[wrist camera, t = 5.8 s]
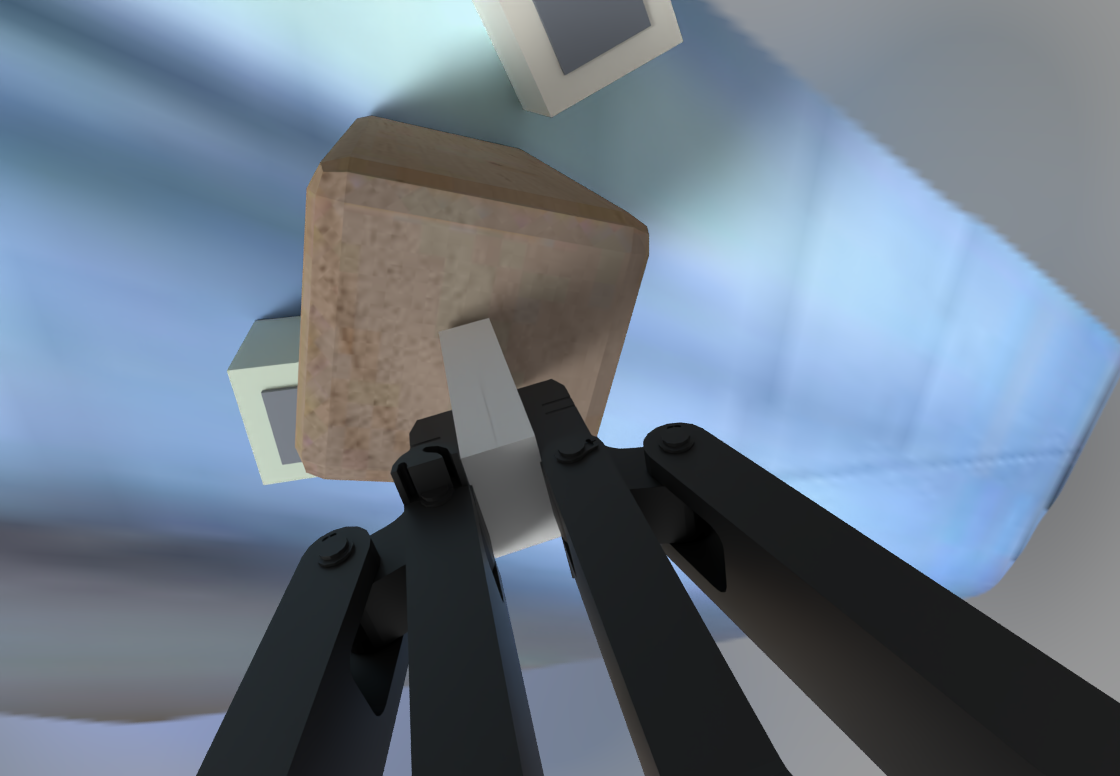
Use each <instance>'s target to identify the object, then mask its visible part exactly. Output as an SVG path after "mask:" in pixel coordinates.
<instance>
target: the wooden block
mask: <svg viewBox="0 0 1120 776" xmlns="http://www.w3.org/2000/svg"><path fill="white" fill-rule="evenodd" d="M648 257H649V233H648V229H647V226H646V225H644V224H643V223H642V222H640V221H639V220H638V219H636V218H635V217H634V216H632V215H631V214H630V213H628V212H626V211H625V210H623V209H621V208H620V207H618V206H616V205H614V204H613V203H611V202H609V201H608V200H606V199H604V198H603V197H601V196H599V195H598V194H596V193H594V192H592V191H591V190H589V189H587V188H586V187H584V186H582V185H581V184H579V183H577V182H575V181H574V180H572V179H570V178H569V177H567V176H565V175H564V174H562V173H560V172H559V171H557V170H555V169H553V168H552V167H550V166H548V165H547V164H545V163H543V162H542V161H540V160H538V159H536V158H535V157H533V156H531V155H530V154H528V153H526V152H525V151H523V150H521V149H518V148H514V147H509V146H505V145H500V144H496V143H491V142H487V141H483V140H478V139H474V138H469V137H465V136H460V135H456V134H451V133H447V132H442V131H438V130H434V129H429V128H425V127H420V126H416V125H411V124H407V123H402V122H398V121H394V120H389V119H385V118H380V117H376V116H367V117H362V118H357V119H356V120H355V122H354V123H353V124H352V125H351V126H350V128H349V129H348V130H347V131H346V132H345V134H344V135H343V136H342V137H341V138H340V140H339V141H338V142H337V143H336V144H335V145H334V147H333V148H332V149H331V150H330V151H329V153H328V154H327V155H326V156H325V157H324V159H323V160H322V161H321V162H320V164H319V166H318V168H317V170H316V171H315V173H314V175H313V177H312V179H311V181H310V183H309V185H308V187H307V193H306V214H305V236H304V258H303V279H302V301H301V322H300V344H299V366H298V387H297V409H296V431H295V448H296V450H297V452H298V454H299V456H300V459H301V461H302V463H303V465H304V468H305V471H306V473H309V474H311V475H314V476H317V477H320V478H323V479H332V480H356V481H380V482H394V481H393V478H392V476H391V474H390V472H391V469H392V466H393V464H394V463H395V462H396V461H397V460H398V458H399V457H400V456H402V455H403V454H405V453H406V452H408V451H409V450H410V441H409V433H410V431H411V429H412V428H413V426H414V424H415V423H416V421H417V420H419V419H423V418H426V417H429V416H433V415H436V414H439V413H443V412H446V411H450V410H452V406H451V401H450V395H449V389H448V383H447V378H446V372H445V366H444V360H443V355H442V349H441V343H440V337H439V332H440V331H444V330H447V329H451V328H454V327H458V326H462V325H465V324H469V323H472V322H476V321H479V320H483V319H487V318H489V319H490V322H491V324H492V327H493V330H494V332H495V335H496V337H497V340H498V342H499V345H500V348H501V350H502V353H503V355H504V358H505V360H506V363H507V365H508V368H509V371H510V373H511V376H512V378H513V381H514V383H515V386H516V389H519V388H522V387H525V386H529V385H532V384H536V383H539V382H542V381H546V380H549V379H553V380H555V381H557V382H559V383H561V384H563V385H564V386H565V387H566V389H567V391H568V393H569V395H570V397H571V398H572V400H573V402H574V404H575V407H577V409H578V411H579V413H580V415H581V417H582V418H583V420H584V422H585V424H586V426H587V427H588V429H589V431H590V433H591V435H593V436H596V437H597V434H598V431H599V427H600V424H601V420H602V417H603V413H604V410H605V407H606V403H607V400H608V396H609V393H610V389H611V386H612V382H613V379H614V375H615V372H616V368H617V365H618V361H619V358H620V354H621V351H622V347H623V344H624V340H625V337H626V333H627V330H628V326H629V323H630V319H631V316H632V313H633V309H634V306H635V302H636V299H637V295H638V292H639V288H640V285H641V281H642V278H643V274H644V271H645V267H646V264H647V260H648Z"/></svg>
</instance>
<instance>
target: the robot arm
mask: <svg viewBox="0 0 1120 776" xmlns="http://www.w3.org/2000/svg"><path fill="white" fill-rule="evenodd" d="M439 337H440V343H441V349H442V355H443V360H444V366H445V372H446V378H447V383H448V389H449V395H450V401H451V406H452V410H450V411H446V412H443V413H439V414H436V415H433V416H429V417H426V418H423V419H419V420H417V421H416V423H415V424H414V426H413V428H412V429H411V431H410V433H409V441H410V450H409V451H408V452H406V453H405V454H403V455H402V456H400V457H399V458H398V460H397V461H396V462H395V463H394V464H393V466H392V469H391V472H390V474H391V476H392V478H393V481H394V483H395V485H396V488H397V490H398V492H399V495H400V497H401V499H402V502H403V504H404V512H403V514H402V515H401V516H400V517H398V518H397V519H396V520H395V521H394V522H392V523H391V524H389V525H388V526H386V527H384V528H383V529H381V530H379V531H377V532H375V533H374V534H372V535H369V534H368V532H367V530H365V529H363V528H360V527H343V528H340V529H336V530H333V531H331V532H329V533H327V534H326V535H324V536H322V537H320V538H319V539H318V540H317V541H315V542H314V543H313V544H312V545H311V546H310V547H309V548H308V549H307V551H306V552H305V554H304V555H303V556H302V558H301V560H300V562H299V564H298V566H297V568H296V571H295V573H294V575H293V577H292V579H291V581H290V583H289V585H288V587H287V589H286V591H285V593H284V595H283V597H282V599H281V601H280V604H279V606H278V608H277V610H276V612H275V614H274V616H273V618H272V620H271V622H270V624H269V626H268V628H267V630H266V632H265V635H264V637H263V639H262V641H261V643H260V645H259V647H258V649H257V651H256V653H255V655H254V657H253V659H252V661H251V663H250V666H249V668H248V670H247V672H246V674H245V676H244V678H243V680H242V682H241V684H240V686H239V688H238V690H237V692H236V694H235V696H234V699H233V701H232V703H231V705H230V707H229V709H228V711H227V713H226V715H225V717H224V719H223V721H222V723H221V725H220V727H219V730H218V732H217V734H216V736H215V738H214V740H213V742H212V744H211V746H210V748H209V750H208V752H207V754H206V756H205V758H204V760H203V763H202V765H201V767H200V769H199V771H198V773H197V775H196V776H383V772H384V767H385V763H386V758H387V754H388V750H389V746H390V741H391V737H392V732H393V728H394V724H395V720H396V715H397V711H398V707H399V702H400V698H401V694H402V690H403V685H404V681H405V677H406V672H407V668H408V664H409V692H410V725H411V726H410V727H411V760H412V761H411V762H412V776H544V774H543V769H542V764H541V760H540V756H539V751H538V746H537V742H536V737H535V732H534V728H533V723H532V718H531V714H530V709H529V705H528V700H527V695H526V691H525V686H524V681H523V677H522V672H521V668H520V663H519V658H518V654H517V649H516V645H515V640H514V635H513V631H512V626H511V622H510V617H509V612H508V608H507V603H506V598H505V594H504V589H503V585H502V580H501V575H500V573H499V570H498V567H497V564H496V561H495V558H497V557H500V556H503V555H506V554H509V553H513V552H516V551H519V550H522V549H525V548H528V547H531V546H534V545H537V544H540V543H543V542H546V541H549V540H552V539H555V538H558V537H561V536H562V540H563V544H564V548H565V551H566V555H567V559H568V563H569V567H570V570H571V574H572V578H575V580H576V583H577V586H578V589H579V591H580V594H581V597H582V600H583V603H584V605H585V608H586V611H587V614H588V617H589V620H590V622H591V625H592V628H593V631H594V634H595V636H596V639H597V642H598V645H599V648H600V651H601V653H602V656H603V659H604V662H605V665H606V667H607V670H608V673H609V676H610V679H611V681H612V684H613V687H614V690H615V692H616V695H617V698H618V701H619V704H620V707H621V710H622V712H623V715H624V718H625V721H626V724H627V727H628V729H629V732H630V735H631V738H632V741H633V743H634V746H635V749H636V752H637V755H638V758H639V760H640V763H641V766H642V769H643V772H644V774H645V776H792V774H791V773H790V772H789V771H788V770H787V768H786V767H785V765H784V764H783V762H782V760H781V759H780V757H779V755H778V753H777V752H776V750H775V748H774V746H773V744H772V743H771V741H770V739H769V738H768V735H767V734H766V732H765V730H764V729H763V727H762V725H761V723H760V721H759V720H758V718H757V716H756V714H755V713H754V711H753V709H752V707H751V705H750V703H749V702H748V700H747V698H746V696H745V695H744V693H743V691H742V689H741V687H740V686H739V684H738V682H737V680H736V679H735V677H734V675H733V673H732V671H731V670H730V668H729V666H728V664H727V663H726V661H725V659H724V657H723V655H722V654H721V652H720V650H719V648H718V647H717V645H716V643H715V641H714V639H713V638H712V636H711V634H710V632H709V630H708V629H707V627H706V625H705V623H704V622H703V620H702V618H701V616H700V614H699V613H698V611H697V609H696V607H695V606H694V604H693V602H692V600H691V598H690V597H689V595H688V593H687V591H686V590H685V588H684V586H683V584H682V582H681V581H680V579H679V577H678V575H677V574H676V572H675V570H674V568H673V566H672V565H671V563H670V561H669V559H668V557H669V558H670V559H671V560H672V561H673V562H674V563H675V564H676V565H677V566H678V567H679V568H680V569H681V570H682V571H683V572H684V573H685V574H686V575H687V576H688V577H689V578H690V579H691V580H692V581H693V582H694V583H695V584H696V585H697V586H698V587H699V588H700V589H701V590H702V591H703V592H704V593H705V594H706V595H707V596H708V597H709V598H710V599H711V600H712V601H713V602H714V603H715V604H716V605H717V606H718V607H719V608H720V609H721V610H722V611H723V612H724V613H725V614H726V615H727V616H728V617H729V618H730V619H731V620H732V621H733V622H734V623H735V624H736V625H737V626H738V627H739V628H740V629H741V630H742V631H743V632H744V633H745V634H746V635H747V636H748V637H749V638H750V639H751V640H752V641H753V642H754V643H755V644H756V645H757V646H758V647H759V648H760V649H761V650H762V651H763V652H764V653H765V654H766V655H767V656H768V657H769V658H770V659H771V660H772V661H773V662H774V663H775V664H776V665H777V666H778V667H779V668H780V669H781V670H782V671H783V672H784V673H785V674H786V675H787V676H788V677H789V678H790V679H791V680H792V681H793V682H794V683H795V684H796V685H797V686H798V687H799V688H800V689H801V690H802V691H803V692H804V693H805V694H806V695H807V696H808V697H809V698H810V699H811V700H812V701H813V702H814V703H815V704H816V705H817V706H818V707H819V708H820V709H821V710H822V711H823V712H824V713H825V714H826V715H827V716H828V717H829V718H830V719H831V720H832V721H833V722H834V723H835V724H836V725H837V726H838V727H839V728H840V729H841V730H842V731H843V732H844V733H845V734H846V735H847V736H848V737H849V738H850V739H851V740H852V741H853V742H854V743H855V744H856V745H857V746H858V747H859V748H860V749H861V750H862V751H863V752H864V753H865V754H866V755H867V756H868V757H869V758H870V759H871V760H872V761H873V762H874V763H875V764H876V765H877V766H878V767H879V768H880V769H881V770H882V771H883V772H884V773H885V774H886V775H887V776H1120V703H1119V702H1117V701H1116V700H1114V699H1113V698H1111V697H1110V696H1108V695H1107V694H1105V693H1104V692H1102V691H1101V690H1099V689H1097V688H1096V687H1094V686H1093V685H1091V684H1090V683H1088V682H1087V681H1085V680H1084V679H1082V678H1081V677H1079V676H1078V675H1076V674H1075V673H1073V672H1072V671H1070V670H1069V669H1067V668H1066V667H1064V666H1063V665H1061V664H1059V663H1058V662H1057V661H1055V660H1053V659H1052V658H1050V657H1049V656H1047V655H1046V654H1044V653H1043V652H1041V651H1040V650H1038V649H1037V648H1035V647H1034V646H1032V645H1031V644H1029V643H1027V642H1026V641H1025V640H1023V639H1022V638H1020V637H1019V636H1017V635H1015V634H1014V633H1012V632H1011V631H1009V630H1008V629H1006V628H1005V627H1003V626H1001V625H1000V624H999V623H997V622H996V621H994V620H993V619H991V618H990V617H988V616H986V615H985V614H984V613H982V612H981V611H979V610H977V609H976V608H974V607H973V606H971V605H970V604H968V603H967V602H965V601H964V600H962V599H961V598H959V597H958V596H956V595H955V594H953V593H952V592H950V591H949V590H947V589H946V588H944V587H943V586H941V585H940V584H938V583H937V582H935V581H934V580H932V579H930V578H929V577H927V576H926V575H924V574H923V573H921V572H920V571H918V570H917V569H915V568H914V567H912V566H911V565H909V564H908V563H906V562H905V561H903V560H902V559H900V558H899V557H897V556H896V555H894V554H893V553H891V552H889V551H888V550H886V549H885V548H883V547H882V546H880V545H879V544H877V543H876V542H874V541H873V540H871V539H870V538H868V537H867V536H865V535H864V534H862V533H861V532H859V531H858V530H856V529H855V528H853V527H852V526H850V525H848V524H847V523H845V522H844V521H842V520H841V519H839V518H838V517H836V516H835V515H833V514H832V513H830V512H829V511H827V510H826V509H824V508H823V507H821V506H820V505H818V504H817V503H815V502H814V501H812V500H811V499H809V498H808V497H806V496H804V495H803V494H801V493H800V492H798V491H797V490H795V489H794V488H792V487H791V486H789V485H788V484H786V483H785V482H783V481H782V480H780V479H779V478H777V477H776V476H774V475H773V474H771V473H770V472H768V471H767V470H765V469H763V468H762V467H760V466H759V465H757V464H756V463H754V462H753V461H751V460H750V459H748V458H747V457H745V456H744V455H742V454H741V453H739V452H738V451H736V450H735V449H733V448H732V447H730V446H729V445H727V444H726V443H724V442H722V441H721V440H719V439H718V438H716V437H715V436H713V435H712V434H710V433H709V432H707V431H706V430H704V429H703V428H700V427H698V426H696V425H694V424H688V423H671V424H666V425H663V426H660V427H657V428H655V429H654V430H652V431H651V432H650V433H648V434H647V436H646V438H645V439H644V441H643V447H639V448H625V449H618V448H611V447H607V446H605V445H604V444H603V442H602V441H601V440H600V439H599V438H598V437H596V436H593V435H591V433H590V431H589V429H588V427H587V426H586V424H585V422H584V420H583V418H582V417H581V415H580V413H579V411H578V409H577V407H575V404H574V402H573V400H572V398H571V397H570V395H569V393H568V391H567V389H566V387H565V386H564V385H563V384H561V383H559V382H557V381H555V380H553V379H549V380H546V381H542V382H539V383H536V384H532V385H529V386H525V387H522V388H519V389H516V386H515V383H514V381H513V378H512V376H511V373H510V371H509V368H508V365H507V363H506V360H505V358H504V355H503V353H502V350H501V348H500V345H499V342H498V340H497V337H496V335H495V332H494V330H493V327H492V324H491V322H490V319H489V318H487V319H483V320H479V321H476V322H472V323H469V324H465V325H462V326H458V327H454V328H451V329H447V330H444V331H440V332H439ZM666 555H667V556H668V557H667V556H666ZM494 556H495V558H494Z"/></svg>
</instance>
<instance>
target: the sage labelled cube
mask: <svg viewBox="0 0 1120 776" xmlns="http://www.w3.org/2000/svg"><path fill="white" fill-rule="evenodd" d="M300 322H301V316H295V317H285V318H276V319H266V320H256V321H255V322H254V323H253V325H252V327H251V329H250V331H249V332H248V334H247V336H246V338H245V339H244V341H243V343H242V345H241V347H240V348H239V350H238V352H237V354H236V355H235V357H234V359H233V361H232V363H231V364H230V366H229V368H228V370H227V372H228V376H229V379H230V382H231V385H232V388H233V391H234V394H235V397H236V400H237V404H238V407H239V410H240V413H241V416H242V419H243V422H244V425H245V429H246V432H247V435H248V438H249V441H250V444H251V447H252V450H253V454H254V457H255V460H256V463H257V466H258V469H259V472H260V475H261V479H262V482H263V485H267V484H274V483H280V482H287V481H293V480H300V479H306V478H313V477H317V476H314V475H311V474H309V473H306V471H305V468H304V465H303V463H302V461H301V459H300V456H299V454H298V452H297V450H296V448H295V431H296V409H297V387H298V366H299V344H300Z"/></svg>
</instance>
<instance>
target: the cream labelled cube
mask: <svg viewBox="0 0 1120 776" xmlns="http://www.w3.org/2000/svg"><path fill="white" fill-rule="evenodd" d="M472 1H473V3H474V6H475V8H476V10H477V12H478V14H479V16H480V18H481V20H482V23H483V25H484V27H485V29H486V31H487V33H488V35H489V37H490V40H491V42H492V44H493V46H494V48H495V50H496V52H497V54H498V57H499V59H500V61H501V63H502V65H503V67H504V69H505V71H506V74H507V76H508V78H509V80H510V82H511V84H512V86H513V88H514V91H515V93H516V95H517V97H518V99H519V101H520V103H521V105H522V107H523V110H526V111H530V112H533V113H537V114H540V115H544V116H548V117H551V118H552V117H553V116H555V115H557V114H559V113H560V112H562V111H564V110H565V109H567V108H569V107H571V106H572V105H574V104H576V103H578V102H579V101H581V100H583V99H585V98H586V97H588V96H590V95H592V94H593V93H595V92H597V91H598V90H600V89H602V88H604V87H605V86H607V85H609V84H611V83H612V82H614V81H616V80H618V79H619V78H621V77H623V76H624V75H626V74H628V73H630V72H631V71H633V70H635V69H637V68H638V67H640V66H642V65H644V64H645V63H647V62H649V61H651V60H652V59H654V58H656V57H657V56H659V55H661V54H663V53H664V52H666V51H668V50H670V49H671V48H673V47H675V46H677V45H678V44H680V43H682V42H683V39H682V36H681V33H680V29H679V26H678V23H677V20H676V17H675V13H674V10H673V7H672V4H671V1H670V0H472Z"/></svg>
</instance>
